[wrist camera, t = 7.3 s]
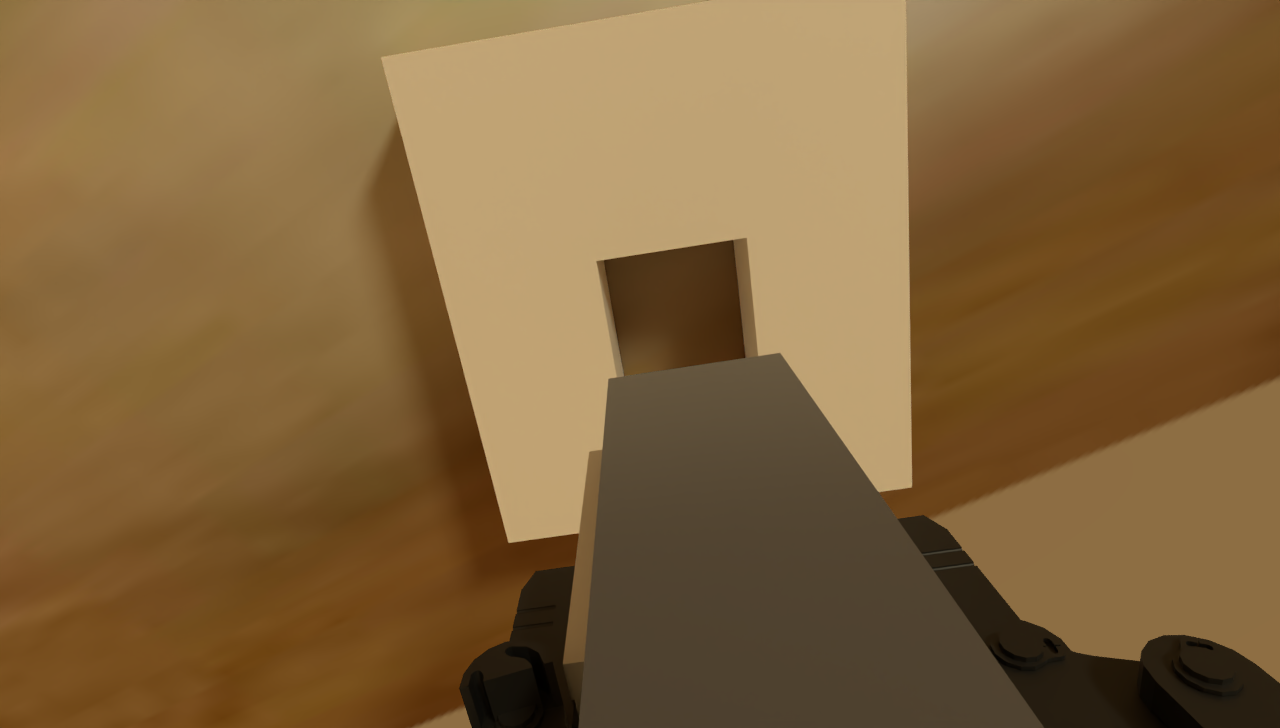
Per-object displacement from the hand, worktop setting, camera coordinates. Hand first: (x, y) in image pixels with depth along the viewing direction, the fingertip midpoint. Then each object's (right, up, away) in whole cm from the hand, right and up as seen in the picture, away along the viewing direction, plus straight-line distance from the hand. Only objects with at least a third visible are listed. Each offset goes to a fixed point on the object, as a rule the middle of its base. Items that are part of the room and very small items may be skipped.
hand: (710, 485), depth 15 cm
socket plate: (0, +7, +13) cm, 15 cm away
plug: (0, 0, 0) cm, 0 cm away
